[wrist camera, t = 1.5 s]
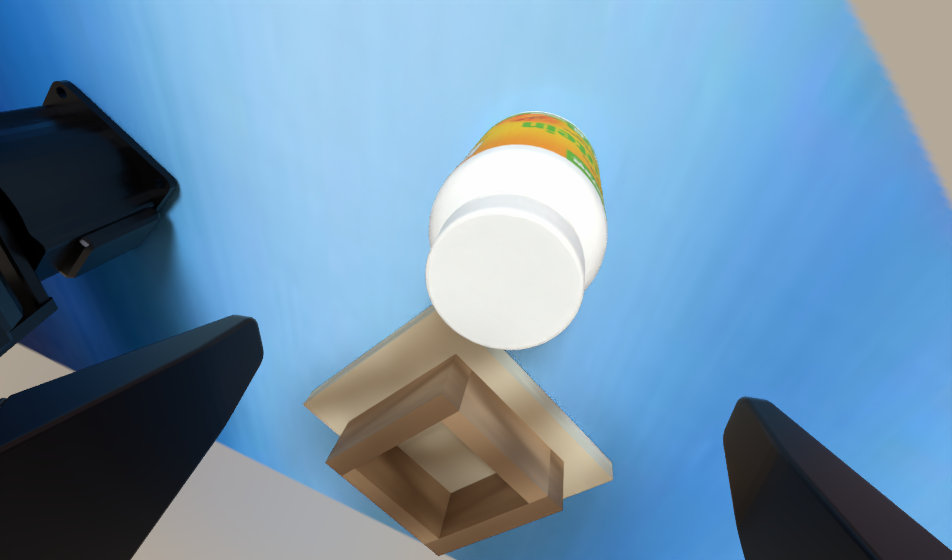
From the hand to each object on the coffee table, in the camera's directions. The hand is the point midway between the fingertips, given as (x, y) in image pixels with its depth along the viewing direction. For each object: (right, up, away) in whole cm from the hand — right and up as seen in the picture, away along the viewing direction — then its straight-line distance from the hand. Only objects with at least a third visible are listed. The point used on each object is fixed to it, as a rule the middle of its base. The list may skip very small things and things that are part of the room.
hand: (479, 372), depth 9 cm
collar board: (-1, -7, +19) cm, 20 cm away
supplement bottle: (+2, +6, +11) cm, 13 cm away
